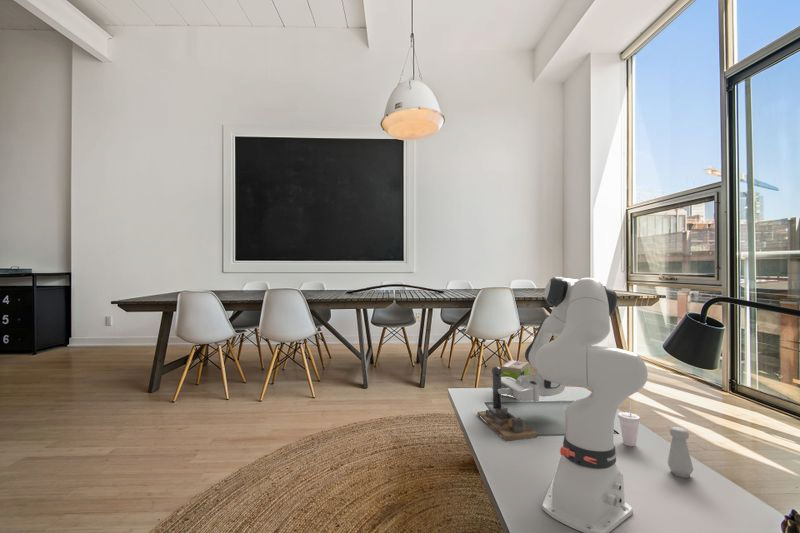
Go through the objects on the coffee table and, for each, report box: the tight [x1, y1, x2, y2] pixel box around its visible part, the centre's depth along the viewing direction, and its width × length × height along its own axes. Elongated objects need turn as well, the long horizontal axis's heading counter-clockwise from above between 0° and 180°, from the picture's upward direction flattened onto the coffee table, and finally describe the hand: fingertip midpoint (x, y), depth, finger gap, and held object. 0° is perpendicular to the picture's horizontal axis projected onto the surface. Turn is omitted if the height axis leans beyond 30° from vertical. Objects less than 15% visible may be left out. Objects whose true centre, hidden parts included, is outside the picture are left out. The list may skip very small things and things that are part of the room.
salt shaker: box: [667, 426, 694, 479], centre depth 102 cm, size 6×6×13 cm
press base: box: [477, 409, 538, 442], centre depth 135 cm, size 23×12×6 cm, turn 13°
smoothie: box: [617, 402, 641, 447], centre depth 120 cm, size 6×6×14 cm
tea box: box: [500, 359, 531, 395], centre depth 172 cm, size 15×10×15 cm, turn 144°
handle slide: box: [488, 366, 509, 418], centre depth 141 cm, size 6×5×19 cm
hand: (495, 389), depth 141 cm, fingers closed on handle slide, 3 cm apart
